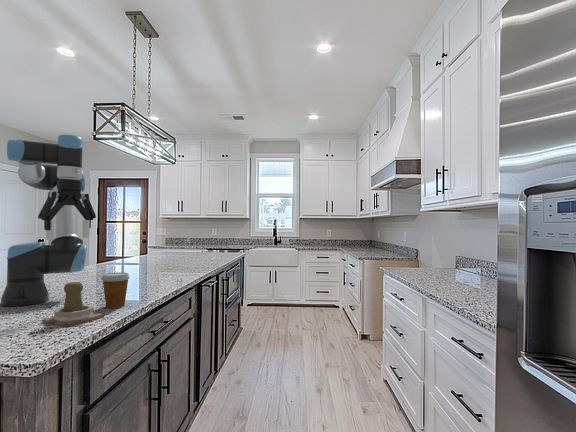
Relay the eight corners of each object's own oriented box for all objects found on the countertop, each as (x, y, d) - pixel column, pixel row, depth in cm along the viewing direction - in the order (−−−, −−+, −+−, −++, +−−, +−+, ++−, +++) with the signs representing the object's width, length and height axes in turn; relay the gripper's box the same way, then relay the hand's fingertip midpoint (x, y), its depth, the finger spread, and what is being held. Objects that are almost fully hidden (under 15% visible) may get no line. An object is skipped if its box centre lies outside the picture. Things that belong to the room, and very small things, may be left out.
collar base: (42, 322, 109) (42, 311, 109) (77, 313, 120) (77, 303, 120) (69, 326, 104) (69, 315, 104) (103, 316, 116) (104, 306, 116)
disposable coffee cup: (100, 310, 125) (101, 276, 125) (101, 304, 133) (101, 273, 133) (130, 307, 129) (130, 274, 129) (128, 302, 137) (129, 271, 138)
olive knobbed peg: (88, 314, 115) (88, 281, 115) (75, 319, 109) (75, 284, 109) (71, 314, 115) (71, 280, 115) (57, 319, 109) (57, 283, 109)
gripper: (41, 175, 111) (40, 241, 112) (106, 182, 135) (105, 237, 135) (25, 175, 114) (24, 240, 114) (92, 182, 137) (91, 236, 138)
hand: (68, 238), depth 125 cm, fingers open, 13 cm apart
